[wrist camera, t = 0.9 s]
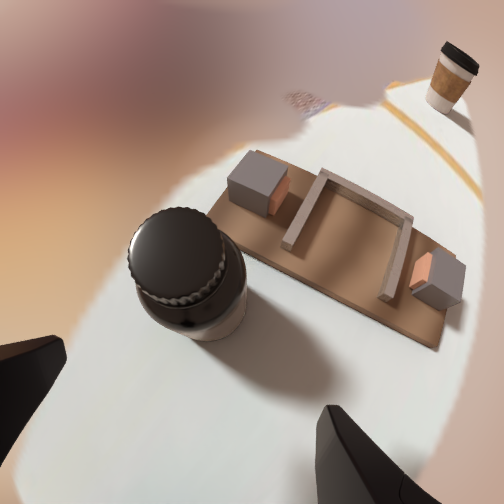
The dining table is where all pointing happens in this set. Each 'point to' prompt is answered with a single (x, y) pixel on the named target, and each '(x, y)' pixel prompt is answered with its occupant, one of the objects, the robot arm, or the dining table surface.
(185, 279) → the supplement bottle
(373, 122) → the dining table surface
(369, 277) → the walnut rail
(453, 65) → the coffee cup
